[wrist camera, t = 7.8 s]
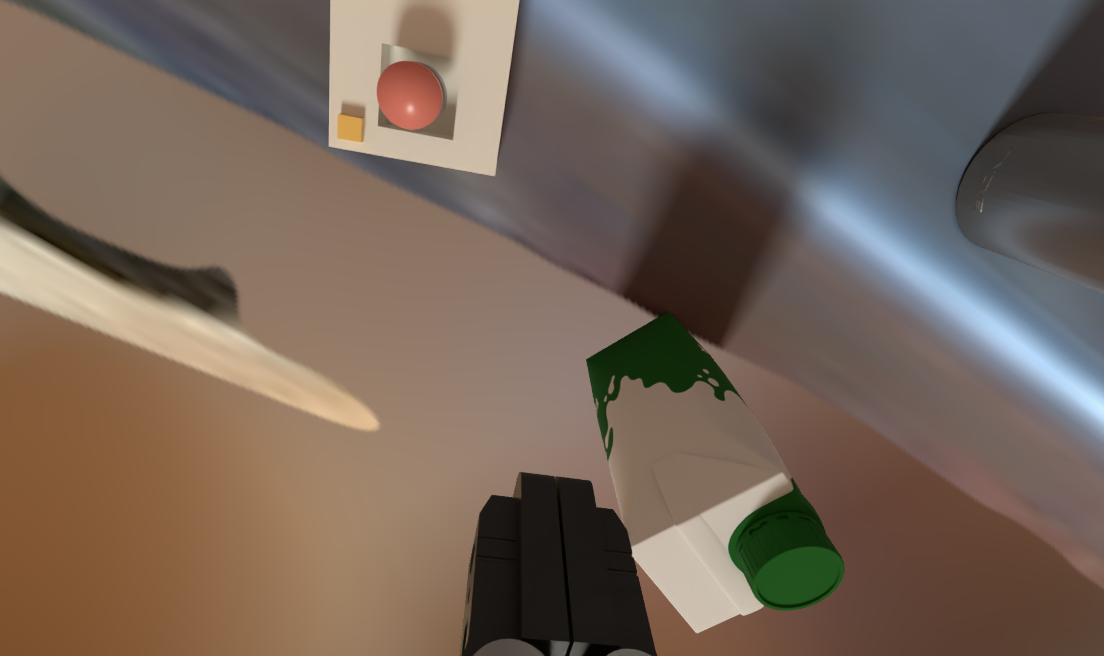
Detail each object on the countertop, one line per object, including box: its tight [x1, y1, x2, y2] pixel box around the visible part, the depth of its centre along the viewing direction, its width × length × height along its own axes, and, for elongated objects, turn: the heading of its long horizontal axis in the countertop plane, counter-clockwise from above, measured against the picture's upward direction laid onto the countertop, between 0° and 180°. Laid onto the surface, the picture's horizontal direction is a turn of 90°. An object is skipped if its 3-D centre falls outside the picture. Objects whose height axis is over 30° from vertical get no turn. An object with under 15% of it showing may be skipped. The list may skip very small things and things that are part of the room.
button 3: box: [377, 61, 447, 130], centre depth 27 cm, size 3×3×3 cm
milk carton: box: [586, 311, 844, 633], centre depth 32 cm, size 9×9×20 cm
